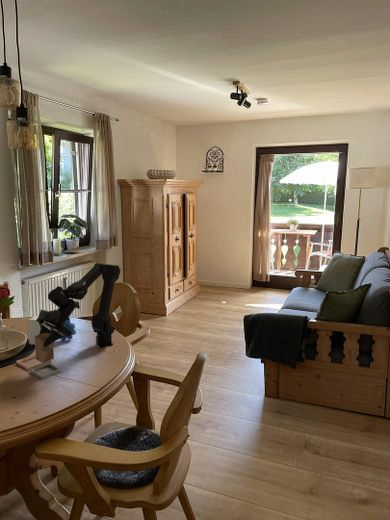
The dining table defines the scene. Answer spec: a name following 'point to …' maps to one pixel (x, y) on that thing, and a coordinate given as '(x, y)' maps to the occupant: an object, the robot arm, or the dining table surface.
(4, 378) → the dining table surface
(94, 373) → the dining table surface
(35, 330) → the supplement box
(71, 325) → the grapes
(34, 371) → the grey metal socket
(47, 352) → the walnut plug block
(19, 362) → the terracotta socket
